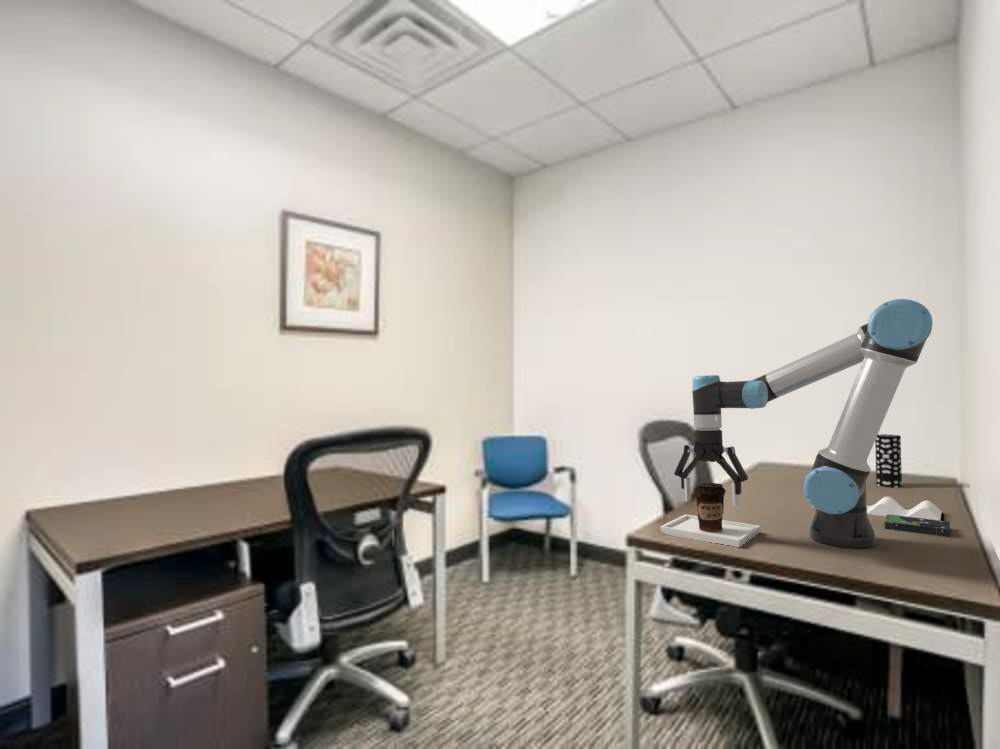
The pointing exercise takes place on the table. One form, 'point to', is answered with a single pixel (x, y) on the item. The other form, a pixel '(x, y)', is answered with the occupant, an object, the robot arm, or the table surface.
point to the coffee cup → (710, 506)
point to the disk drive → (917, 525)
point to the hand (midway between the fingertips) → (711, 503)
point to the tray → (730, 535)
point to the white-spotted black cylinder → (888, 460)
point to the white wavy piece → (893, 508)
